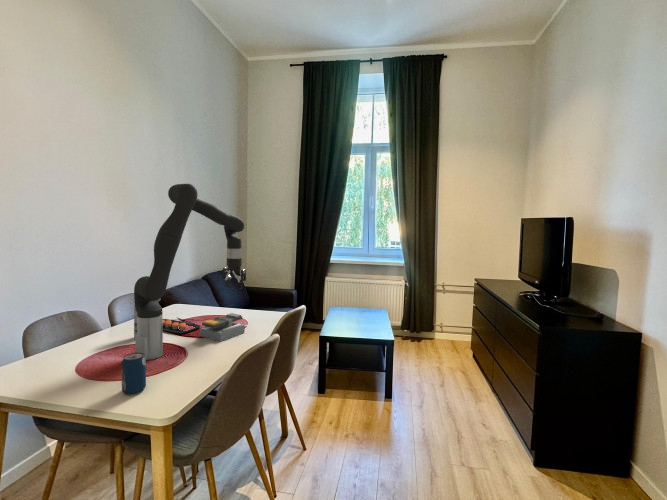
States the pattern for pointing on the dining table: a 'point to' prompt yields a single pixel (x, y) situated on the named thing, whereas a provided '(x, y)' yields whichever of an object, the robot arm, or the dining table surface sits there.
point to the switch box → (219, 334)
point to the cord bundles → (230, 327)
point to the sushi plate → (173, 325)
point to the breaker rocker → (222, 320)
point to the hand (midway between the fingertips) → (234, 288)
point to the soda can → (133, 373)
